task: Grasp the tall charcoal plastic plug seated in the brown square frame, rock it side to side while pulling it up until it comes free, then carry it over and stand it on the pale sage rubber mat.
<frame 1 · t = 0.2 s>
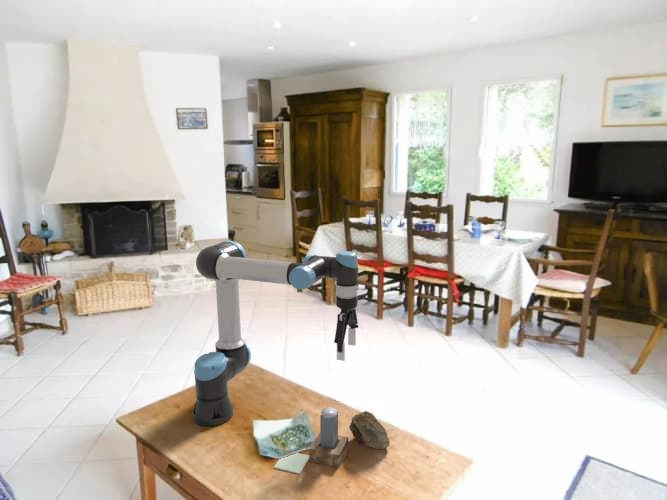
hand: (346, 352, 170), 28 cm above the table, fingers open, 13 cm apart
plug: (329, 433, 155), in the brown square frame
mat: (292, 462, 153), on the table
brown square frame: (329, 455, 157), on the table
rock: (370, 443, 163), on the table
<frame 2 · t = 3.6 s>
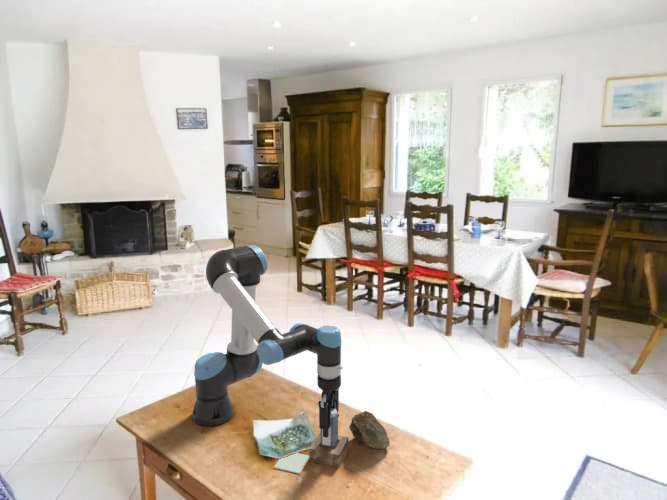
hand: (329, 439, 156), 6 cm above the table, fingers closed on plug, 4 cm apart
plug: (329, 433, 155), in the brown square frame, touching gripper
everything else where it was.
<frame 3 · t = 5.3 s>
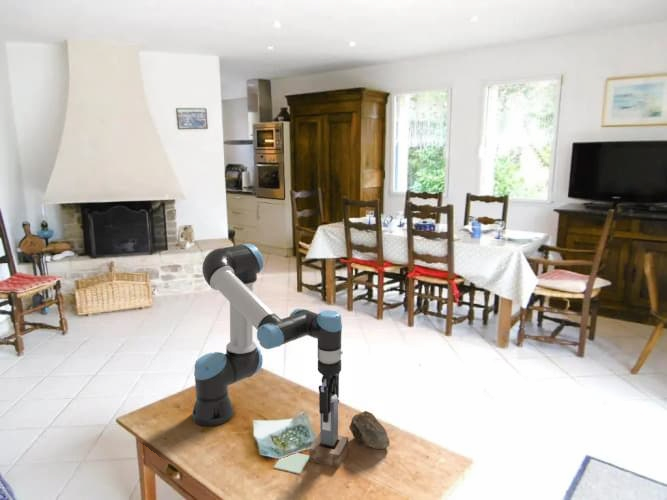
hand: (329, 425, 155), 11 cm above the table, fingers closed on plug, 4 cm apart
plug: (329, 418, 155), point 13 cm above the table, touching gripper
everything else where it was.
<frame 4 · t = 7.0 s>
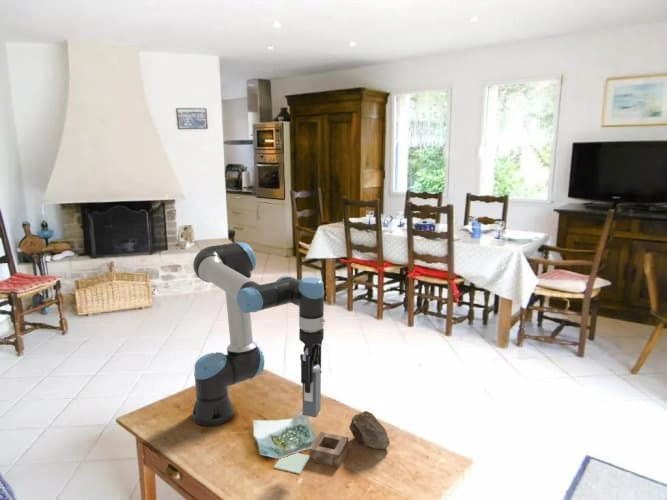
hand: (311, 396, 151), 22 cm above the table, fingers closed on plug, 4 cm apart
plug: (311, 389, 150), point 24 cm above the table, touching gripper
everything else where it was.
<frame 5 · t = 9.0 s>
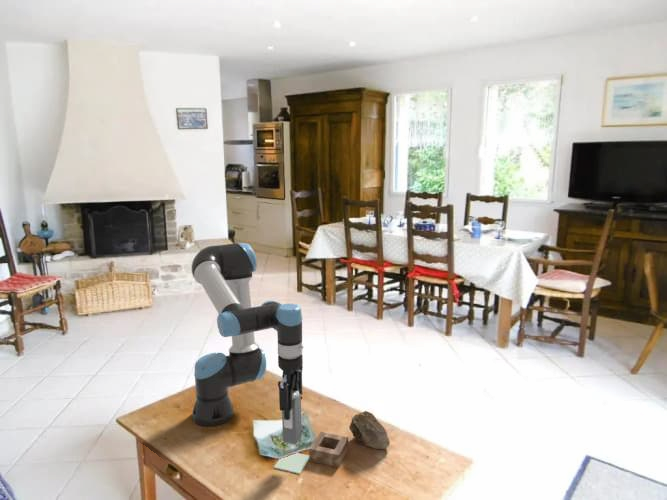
hand: (291, 422, 150), 14 cm above the table, fingers closed on plug, 4 cm apart
plug: (291, 416, 150), point 17 cm above the table, touching gripper
everything else where it was.
when the fingers open (7 cm above the table, at t = 10.6 s): plug drops 1 cm, resting on mat.
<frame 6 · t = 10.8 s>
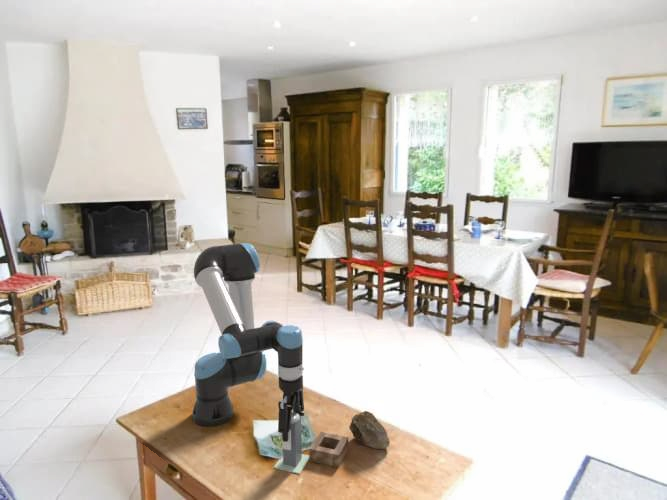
hand: (292, 441, 152), 8 cm above the table, fingers open, 7 cm apart
plug: (292, 439, 151), on the mat
everything else where it was.
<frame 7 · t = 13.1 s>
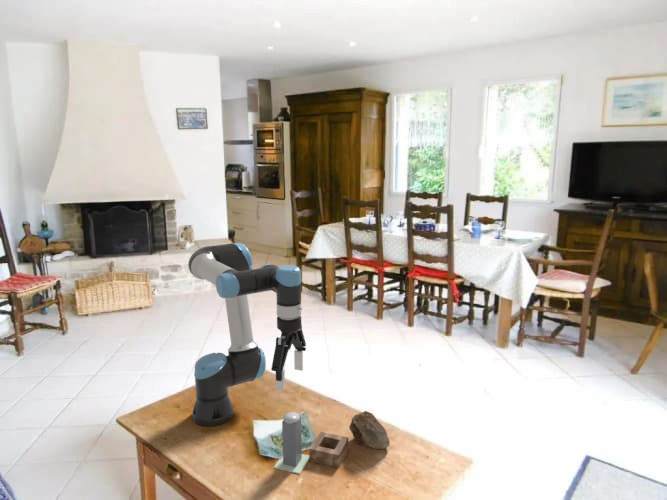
hand: (289, 378, 151), 28 cm above the table, fingers open, 13 cm apart
nothing on the table moved.
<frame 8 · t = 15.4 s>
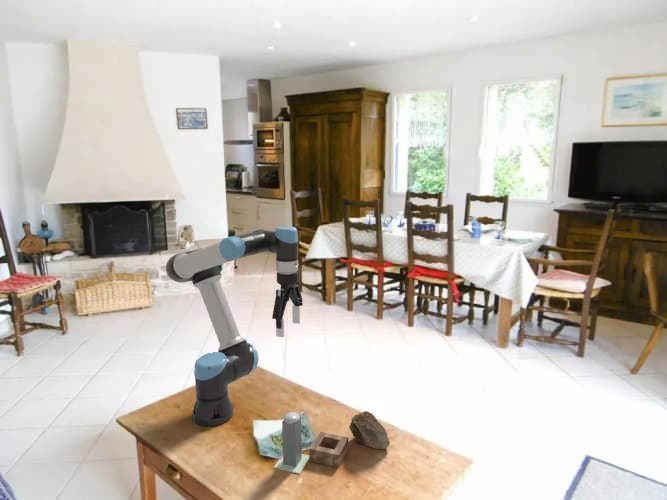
hand: (288, 329, 168), 37 cm above the table, fingers open, 13 cm apart
nothing on the table moved.
at the end: plug inside the target area on the mat (0.0 cm from its centre), point 8.4 cm above the mat's base; plug tilted 0°; the gripper is holding nothing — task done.
